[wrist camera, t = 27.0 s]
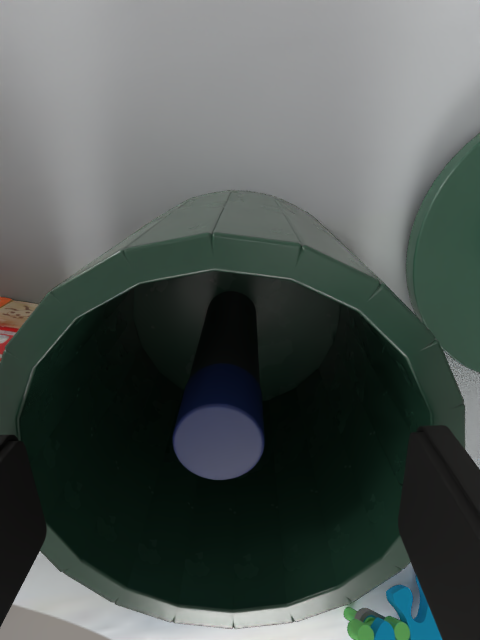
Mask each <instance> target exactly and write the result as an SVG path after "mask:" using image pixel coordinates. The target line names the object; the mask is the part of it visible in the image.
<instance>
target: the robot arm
mask: <svg viewBox="0 0 480 640" xmlns="http://www.w3.org/2000/svg"><path fill="white" fill-rule="evenodd" d="M398 528H399V533H400V536H401V539H402V541H403V544H404V546H405V549H406V551H407V554H408V556H409V559H410V561H411V564H412V566H413V568H414V571H415V573H416V576H417V578H418V581H419V583H420V586H421V588H422V591H423V593H424V595H425V598H426V600H427V603H428V605H429V608H430V610H431V613H432V615H433V618H434V620H435V622H436V625H437V627H438V630H439V632H440V635H441V637H442V640H480V469H479V468H478V467H477V465H476V464H475V463H474V461H473V460H472V459H471V457H470V456H469V454H468V453H467V452H466V450H465V449H464V448H463V446H462V445H461V444H460V442H459V441H458V440H457V438H456V437H455V436H454V434H453V433H452V432H451V430H450V429H449V428H448V427H447V426H445V425H430V426H419V427H418V429H417V432H412V433H411V434H410V436H409V443H408V450H407V457H406V464H405V472H404V479H403V486H402V494H401V501H400V508H399V516H398ZM46 533H47V526H46V522H45V518H44V514H43V510H42V507H41V503H40V499H39V495H38V492H37V488H36V484H35V480H34V477H33V473H32V469H31V465H30V462H29V458H28V454H27V450H26V447H25V444H24V442H23V441H19V440H18V438H17V437H16V436H15V435H0V627H1V625H2V623H3V621H4V619H5V617H6V615H7V613H8V611H9V609H10V607H11V605H12V604H13V602H14V600H15V598H16V596H17V594H18V592H19V590H20V588H21V586H22V584H23V582H24V580H25V578H26V576H27V574H28V572H29V571H30V569H31V567H32V565H33V563H34V561H35V559H36V557H37V555H38V553H39V551H40V549H41V547H42V545H43V543H44V541H45V538H46Z"/></svg>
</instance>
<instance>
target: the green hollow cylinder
mask: <svg viewBox="0 0 480 640" xmlns="http://www.w3.org/2000/svg"><path fill="white" fill-rule="evenodd" d="M227 291H235V292H239V293H242V294H244V295H246V296H247V297H248V298H249V299H250V300H251V301H252V302H253V304H254V306H255V309H256V319H257V338H258V357H259V377H260V388H261V392H262V403H263V421H264V438H265V445H264V451H263V454H262V456H261V458H260V460H259V461H258V462H257V464H256V465H255V466H254V467H253V468H252V469H251V470H250V471H248V472H247V473H245V474H243V475H241V476H239V477H236V478H233V479H228V480H212V479H207V478H203V477H200V476H198V475H196V474H194V473H192V472H191V471H189V470H188V469H187V468H185V467H184V466H183V465H182V464H181V462H180V461H179V460H178V458H177V456H176V454H175V451H174V449H173V443H172V437H173V431H174V428H175V424H176V420H177V416H178V413H179V409H180V405H181V402H182V398H183V394H184V391H185V387H186V385H187V382H188V381H189V378H190V374H191V370H192V366H193V363H194V359H195V355H196V351H197V347H198V344H199V340H200V336H201V332H202V328H203V325H204V321H205V317H206V313H207V309H208V306H209V304H210V302H211V301H212V300H213V298H215V297H216V296H217V295H219V294H221V293H223V292H227ZM430 425H445V426H447V427H448V428H449V429H450V430H451V432H452V433H453V434H454V436H455V437H456V438H457V440H458V441H459V442H460V444H461V445H462V446H463V448H464V449H465V405H464V400H463V397H462V395H461V392H460V390H459V388H458V385H457V383H456V380H455V378H454V376H453V373H452V371H451V369H450V366H449V364H448V361H447V359H446V357H445V354H444V352H443V349H442V347H441V345H440V342H439V341H438V340H437V339H436V337H435V335H434V334H433V333H432V332H431V331H430V330H429V329H428V328H427V327H426V326H425V325H424V323H423V322H422V321H421V320H420V319H419V318H418V317H417V316H416V315H415V314H414V313H413V312H412V311H411V310H410V309H409V308H408V307H407V306H406V305H405V304H404V303H403V302H402V301H401V300H400V299H399V298H398V297H397V296H396V295H395V294H394V293H393V292H392V291H391V290H390V289H389V288H388V287H387V286H386V285H385V284H384V283H383V282H382V281H381V280H380V279H379V278H378V277H377V276H376V275H375V274H374V273H373V272H372V271H370V270H369V269H368V268H367V267H366V266H365V265H364V264H363V263H362V262H361V261H360V260H359V259H358V258H357V257H356V256H354V255H353V254H352V253H351V252H350V251H349V250H348V249H347V248H346V247H345V246H344V245H343V244H342V243H341V242H340V241H338V240H337V239H336V238H335V237H334V236H333V235H332V234H331V233H330V232H329V231H328V230H327V229H326V228H325V227H324V226H323V225H321V224H320V223H319V222H318V221H317V220H316V219H315V218H314V217H313V216H312V215H310V214H309V213H308V212H306V211H304V210H302V209H300V208H298V207H297V206H295V205H293V204H291V203H288V202H286V201H284V200H282V199H279V198H277V197H275V196H272V195H267V194H263V193H257V192H251V191H236V190H233V191H231V190H228V191H222V192H214V193H210V194H206V195H202V196H198V197H193V198H191V199H188V200H186V201H185V202H183V203H181V204H179V205H178V206H176V207H174V208H173V209H171V210H169V211H167V212H166V213H164V214H162V215H161V216H159V217H157V218H156V219H154V220H153V221H151V222H150V223H148V224H147V225H145V226H144V227H143V228H141V229H140V230H138V231H137V232H135V233H134V234H132V235H131V236H129V237H128V238H126V239H125V240H123V241H122V242H121V243H119V244H118V245H116V246H115V247H113V248H112V249H110V250H109V251H107V252H106V253H104V254H103V255H101V256H100V257H99V258H97V259H96V260H94V261H93V262H91V263H90V264H88V265H87V266H85V267H84V268H82V269H81V270H79V271H78V272H77V273H75V274H74V275H72V276H71V277H69V278H68V279H66V280H65V281H63V282H62V283H60V284H59V285H57V286H56V287H55V288H53V289H52V290H51V291H50V292H48V294H47V295H46V296H45V297H44V299H43V300H42V301H41V302H40V304H39V305H38V306H37V307H36V308H35V310H34V311H33V312H32V313H31V315H30V316H29V317H28V318H27V320H26V321H25V322H24V323H23V325H22V326H21V327H20V328H19V330H18V331H17V332H16V333H15V335H14V336H13V337H12V338H11V339H10V341H9V342H8V343H7V344H6V346H5V350H4V351H3V354H2V358H1V361H0V435H15V436H16V437H17V438H18V440H19V441H23V442H24V444H25V447H26V450H27V454H28V458H29V462H30V465H31V469H32V473H33V477H34V480H35V484H36V488H37V492H38V495H39V499H40V503H41V507H42V510H43V514H44V518H45V522H46V526H47V533H46V538H45V541H44V543H43V545H42V547H41V549H40V551H41V552H42V553H43V554H44V555H45V556H46V557H47V558H48V560H49V561H50V562H51V563H52V564H53V565H54V566H55V567H56V568H57V569H58V570H59V571H60V572H63V573H64V574H66V575H67V576H69V577H71V578H72V579H74V580H76V581H77V582H79V583H81V584H82V585H84V586H86V587H87V588H89V589H90V590H92V591H94V592H95V593H97V594H99V595H100V596H102V597H104V598H105V599H107V600H109V601H110V602H115V604H116V605H118V606H122V607H125V608H128V609H131V610H134V611H137V612H140V613H143V614H146V615H149V616H152V617H155V618H158V619H161V620H165V621H168V622H174V623H179V624H189V625H199V626H208V627H218V628H228V629H232V628H233V627H234V628H235V629H239V628H248V627H257V626H266V625H275V624H284V623H292V622H294V621H295V622H298V621H301V620H304V619H307V618H309V617H312V616H315V615H318V614H321V613H324V612H327V611H330V610H333V609H336V608H339V607H342V606H344V605H347V604H350V603H351V602H352V601H356V600H357V599H359V598H360V597H362V596H363V595H365V594H367V593H368V592H370V591H371V590H373V589H374V588H376V587H377V586H379V585H380V584H382V583H384V582H385V581H387V580H388V579H390V578H391V577H393V576H394V575H396V574H397V573H399V572H401V570H402V569H405V568H406V567H407V565H408V564H409V563H410V562H411V561H410V559H409V556H408V554H407V551H406V549H405V546H404V544H403V541H402V539H401V536H400V533H399V528H398V516H399V508H400V501H401V494H402V486H403V479H404V472H405V464H406V457H407V450H408V443H409V436H410V434H411V433H412V432H417V429H418V427H419V426H430Z"/></svg>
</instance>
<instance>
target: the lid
mask: <svg viewBox="0 0 480 640" xmlns="http://www.w3.org/2000/svg"><path fill="white" fill-rule="evenodd" d="M406 277H407V287H408V292H409V296H410V300H411V304H412V306H413V309H414V311H415V313H416V316H417V317H418V318H419V319H420V320H421V321H422V322H423V323H424V325H425V326H426V327H427V328H428V329H429V330H430V331H431V332H432V333H433V334H434V335H435V337H436V339H437V340H438V341H439V342H440V345H441V347H442V349H443V350H444V351H445V352H446V353H447V354H448V355H449V356H450V357H452V358H453V359H454V360H456V361H457V362H459V363H461V364H462V365H464V366H465V367H467V368H469V369H472V370H474V371H476V372H478V373H480V133H479V134H478V135H477V136H476V137H474V138H473V139H472V140H471V141H470V142H469V143H467V144H466V145H465V146H464V147H463V148H462V149H461V150H460V151H459V152H458V153H457V154H456V155H455V156H454V157H453V158H452V159H451V161H450V162H449V163H448V164H447V165H446V166H445V168H444V169H443V170H442V172H441V173H440V174H439V176H438V177H437V178H436V180H435V181H434V183H433V184H432V186H431V188H430V189H429V191H428V193H427V195H426V196H425V198H424V200H423V202H422V204H421V207H420V209H419V211H418V213H417V215H416V218H415V221H414V224H413V228H412V231H411V234H410V238H409V244H408V250H407V259H406Z"/></svg>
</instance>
